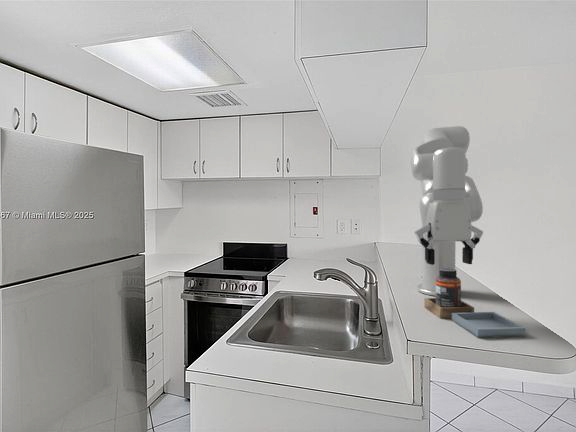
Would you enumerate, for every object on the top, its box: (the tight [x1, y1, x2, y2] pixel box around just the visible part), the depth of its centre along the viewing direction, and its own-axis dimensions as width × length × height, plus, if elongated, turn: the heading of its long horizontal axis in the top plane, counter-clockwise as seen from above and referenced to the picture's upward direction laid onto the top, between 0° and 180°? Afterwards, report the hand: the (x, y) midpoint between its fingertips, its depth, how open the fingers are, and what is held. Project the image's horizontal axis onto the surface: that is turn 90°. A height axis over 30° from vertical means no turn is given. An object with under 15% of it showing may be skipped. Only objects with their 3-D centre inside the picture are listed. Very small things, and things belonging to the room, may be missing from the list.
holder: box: [423, 297, 475, 319], centre depth 86 cm, size 9×9×2 cm
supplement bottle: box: [435, 268, 462, 308], centre depth 86 cm, size 6×6×11 cm
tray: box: [451, 311, 527, 339], centre depth 75 cm, size 10×10×2 cm
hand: (448, 263), depth 85 cm, fingers open, 9 cm apart
